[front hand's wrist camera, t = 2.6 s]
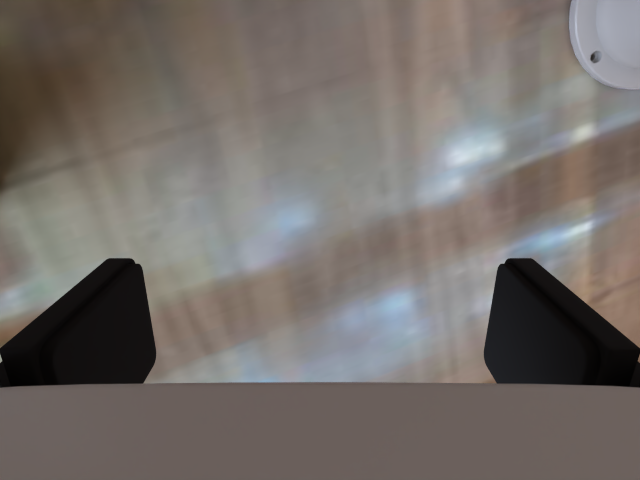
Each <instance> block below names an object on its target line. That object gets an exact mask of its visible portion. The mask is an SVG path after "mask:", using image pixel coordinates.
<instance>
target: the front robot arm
mask: <svg viewBox="0 0 640 480" xmlns="http://www.w3.org/2000/svg"><path fill="white" fill-rule="evenodd" d="M569 31H570V39H571V44H572V47H573V50H574V53H575V56H576V57H577V59H578V61H579V62H580V64H581V66H582V67H583V68H584V69H585V70H586V71H587V73H588V74H589V75H590V76H591V77H593V78H594V79H596V80H597V81H599V82H601V83H602V84H604V85H607V86H610V87H614V88H618V89H628V90H636V89H640V0H572V1H571V6H570V14H569ZM591 55H592V59H590V58H591ZM0 355H1V358H2V362H1V363H0V480H640V363H639V362H638V358H639V355H640V348H639V347H638V346H636V345H635V344H634V343H633V342H632V341H630V340H629V339H628V338H627V337H626V336H624V335H623V334H622V333H621V332H620V331H618V330H617V329H616V328H615V327H614V326H612V325H611V324H610V323H609V322H608V321H606V320H605V319H604V318H603V317H602V316H600V315H599V314H598V313H597V312H596V311H594V310H593V309H592V308H591V307H590V306H588V305H587V304H586V303H585V302H584V301H582V300H581V299H580V298H579V297H578V296H576V295H575V294H574V293H573V292H572V291H570V290H569V289H568V288H567V287H566V286H564V285H563V284H562V283H561V282H560V281H558V280H557V279H556V278H555V277H554V276H552V275H551V274H550V273H549V272H548V271H546V270H545V269H544V268H543V267H542V266H540V265H539V264H538V263H537V262H536V261H534V260H533V259H531V258H510V259H507V260H506V262H505V264H500V265H499V267H498V270H497V275H496V281H495V287H494V293H493V299H492V305H491V311H490V317H489V323H488V329H487V335H486V341H485V347H484V360H485V363H486V365H487V367H488V369H489V371H490V372H491V374H492V376H493V377H494V379H495V381H496V383H497V384H486V383H357V382H299V383H156V384H143V383H144V381H145V379H146V377H147V376H148V374H149V372H150V371H151V369H152V367H153V365H154V363H155V360H156V347H155V341H154V335H153V329H152V323H151V317H150V311H149V305H148V299H147V293H146V287H145V281H144V275H143V270H142V267H141V265H140V264H135V262H134V260H133V259H130V258H109V259H107V260H106V261H104V262H103V263H102V264H101V265H100V266H98V267H97V268H96V269H95V270H94V271H92V272H91V273H90V274H89V275H88V276H86V277H85V278H84V279H83V280H82V281H80V282H79V283H78V284H77V285H76V286H74V287H73V288H72V289H71V290H70V291H68V292H67V293H66V294H65V295H64V296H62V297H61V298H60V299H59V300H58V301H56V302H55V303H54V304H53V305H52V306H50V307H49V308H48V309H47V310H46V311H44V312H43V313H42V314H41V315H40V316H38V317H37V318H36V319H35V320H34V321H32V322H31V323H30V324H29V325H28V326H26V327H25V328H24V329H23V330H22V331H20V332H19V333H18V334H17V335H16V336H14V337H13V338H12V339H11V340H10V341H8V342H7V343H6V344H5V345H4V346H2V347H1V348H0Z"/></svg>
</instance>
